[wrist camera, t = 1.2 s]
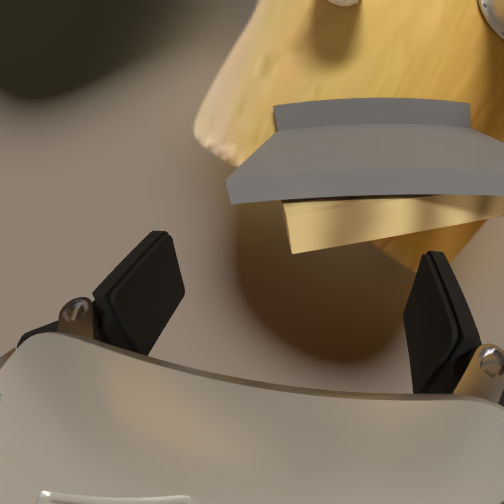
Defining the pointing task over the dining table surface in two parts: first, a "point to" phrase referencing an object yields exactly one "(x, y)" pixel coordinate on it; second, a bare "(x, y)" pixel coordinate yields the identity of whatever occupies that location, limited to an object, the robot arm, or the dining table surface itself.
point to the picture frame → (378, 216)
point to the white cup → (343, 2)
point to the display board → (370, 152)
